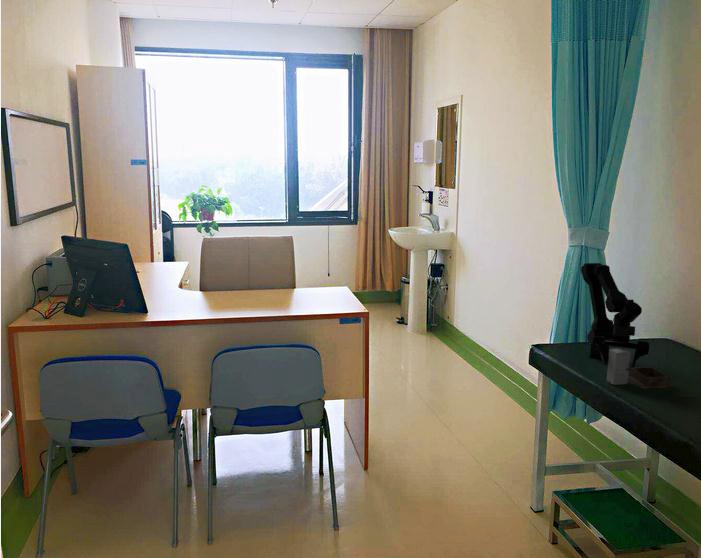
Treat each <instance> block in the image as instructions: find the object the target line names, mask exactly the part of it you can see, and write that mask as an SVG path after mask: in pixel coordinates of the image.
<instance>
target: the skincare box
mask: <svg viewBox="0 0 701 558" xmlns="http://www.w3.org/2000/svg"><path fill="white" fill-rule="evenodd" d="M631 353H632V352H631V351H630V350H628V349H627V348H622V347H621V348H610V350H609V357H608V363H607V371H606V372H607V373H606V382H608V383H609V382H610V383H609V384H611V385H612V384H613V386H616V385H627V384H629V379H628V376H629V372H630V364H631V355H632V354H631Z"/></svg>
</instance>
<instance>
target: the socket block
mask: <svg viewBox="0 0 701 558" xmlns="http://www.w3.org/2000/svg"><path fill="white" fill-rule="evenodd" d="M670 380H671V376H669V375H667V374H666V373H664V372H662V371H660V370H659V369H657V368H655V367H653V365H652V366H637V367H635V366H634V368H632V367H629V376H628V381H630V382H632V383H633V384H635V386H636V385H637V386H638V387H639V388H641V389H642V388H643V389H642V390H649V388H652V389H665V388H673V384H672V383H670Z"/></svg>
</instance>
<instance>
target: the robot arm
mask: <svg viewBox="0 0 701 558" xmlns="http://www.w3.org/2000/svg"><path fill="white" fill-rule="evenodd" d="M610 269H611V268H610V266H609V265H607V264H602V263H601V262H585V263H584V264H583V265H582V266H581V267H580V273H581V275H582V279H583V282H585V283H586V284H587V285H588V289H589V290H588V291H589V295H590V301H591V308H592V314H593V315H592V316H593V321H592V323H591V325H590V330H589V332H588V333H587V334H586V340H587V341H588V342H589V343H590V349H589V350H590V352H589V356H588V357H589V358H590V359H591V358H592V359H598V360H602V363H603V366H606V361H607V359H608V358H609V350H610V349H611V348H610V347H613V348H614V347H615V348H621V349H622V348H624V349H632V350H635V352H634V356H633V360H632V364H631V365H632V366H631V368H634V367H635V366H636V364H637V362H638V360H639V359H640V358H641V357H644V356H647V355H649V352H650V342H649V340H648V341H647V340H641V339H640V340H638V339H637V341H636V342H635V343H633V342H630V340H631V336H632V337H634V336H635V334H636V326H633V325H631V323H633V322H634V321H635V320H636V319H637V318H638V317H639V316H640V315H641V314H642V312H643V309H642V307H641V306H640V304H638V303H637V302H636V301H634V299H628V297H627V295H625V293H623V292H622V291H620V290H619V288H618V286H617V284H616V282H615V279H614V277H613V275H612V273H611V270H610ZM604 294H605V297H606V298H604ZM606 310H607V311H608V313H615V314H614V315H613V319H609V318H608V315H607V311H606Z"/></svg>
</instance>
